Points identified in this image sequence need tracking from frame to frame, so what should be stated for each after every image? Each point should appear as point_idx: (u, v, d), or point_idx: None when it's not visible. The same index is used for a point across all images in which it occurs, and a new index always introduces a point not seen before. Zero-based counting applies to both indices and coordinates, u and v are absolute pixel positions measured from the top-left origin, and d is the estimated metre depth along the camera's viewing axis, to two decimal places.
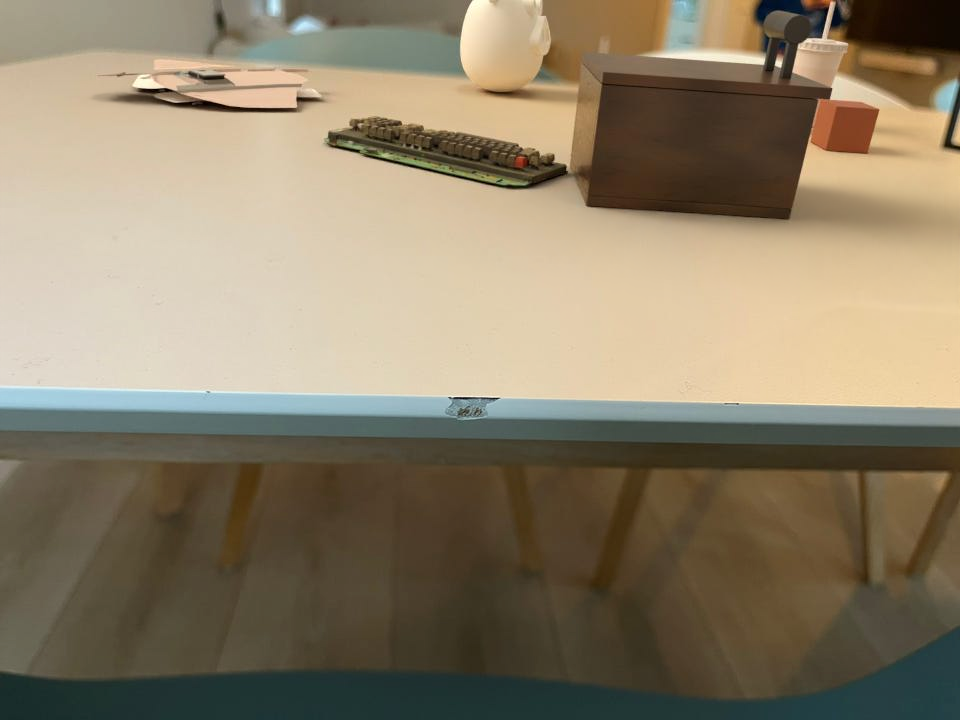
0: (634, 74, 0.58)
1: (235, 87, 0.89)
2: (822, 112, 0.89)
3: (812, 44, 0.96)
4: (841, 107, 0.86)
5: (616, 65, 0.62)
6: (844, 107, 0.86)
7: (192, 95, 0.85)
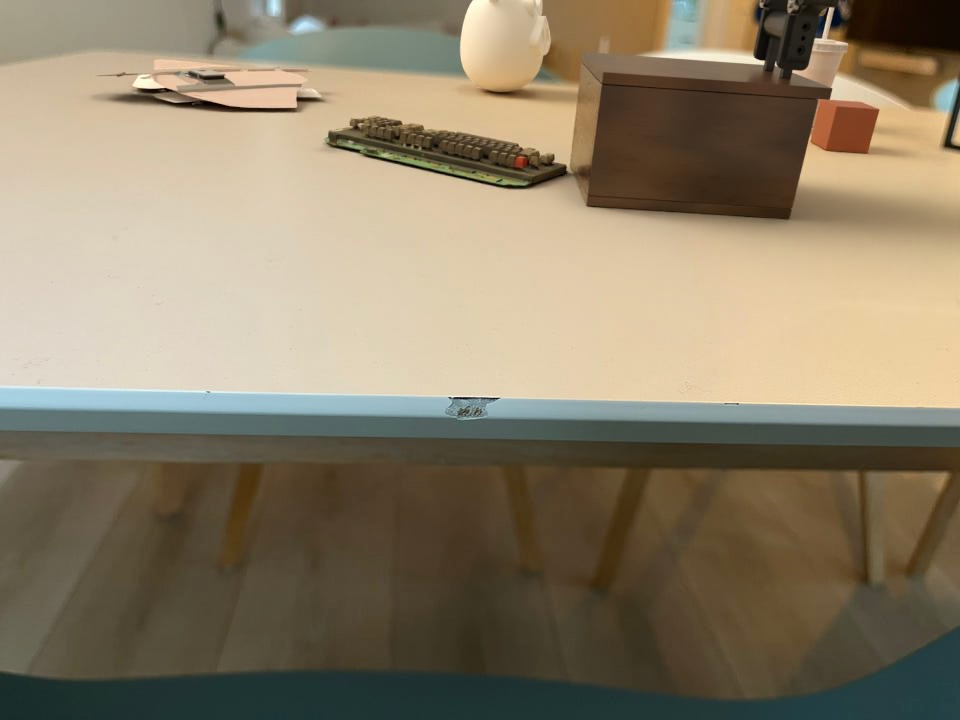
0: (634, 74, 0.58)
1: (235, 87, 0.89)
2: (822, 112, 0.89)
3: None
4: (841, 107, 0.86)
5: (616, 65, 0.62)
6: (844, 107, 0.86)
7: (192, 95, 0.85)
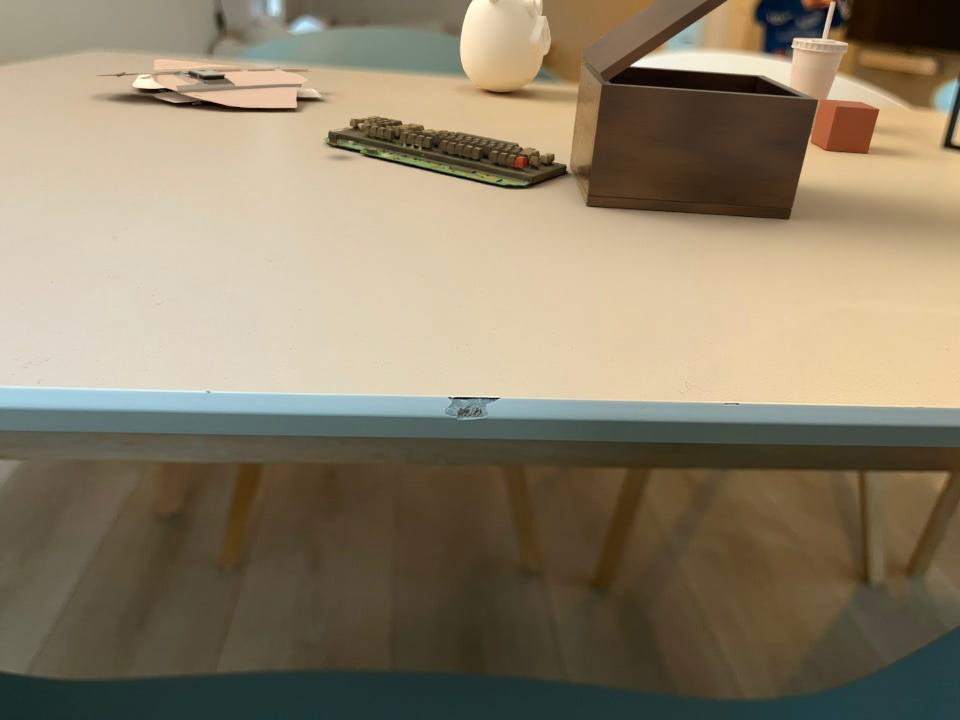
0: (627, 54, 0.57)
1: (235, 87, 0.89)
2: (822, 112, 0.89)
3: (812, 44, 0.96)
4: (841, 107, 0.86)
5: (610, 52, 0.61)
6: (844, 107, 0.86)
7: (192, 95, 0.85)
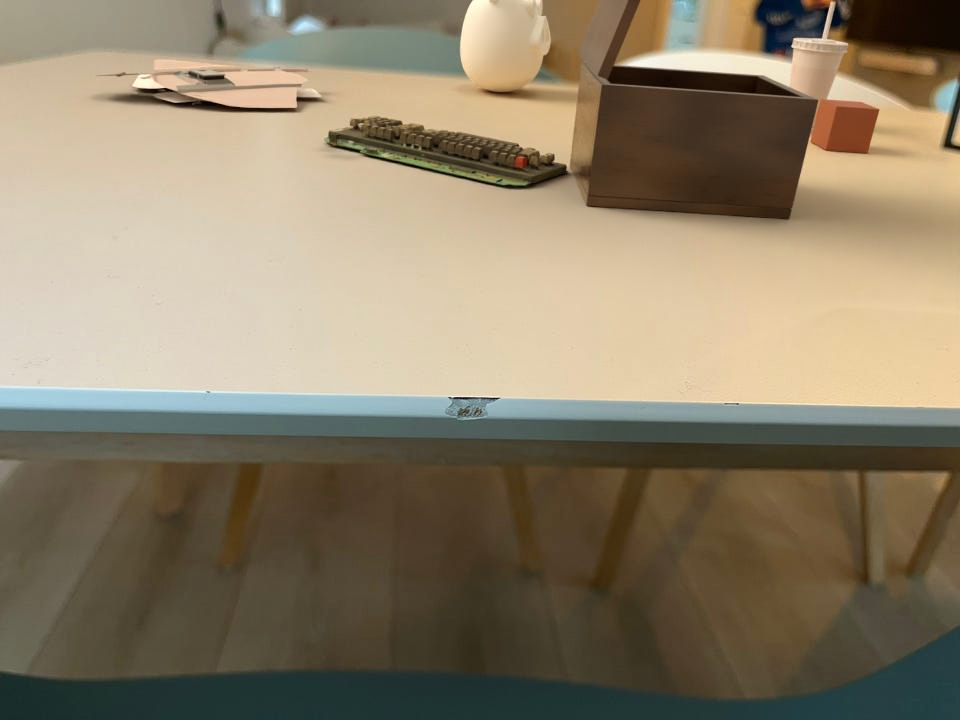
0: (610, 43, 0.57)
1: (235, 87, 0.89)
2: (822, 112, 0.89)
3: (812, 44, 0.96)
4: (841, 107, 0.86)
5: (598, 46, 0.61)
6: (844, 107, 0.86)
7: (192, 95, 0.85)
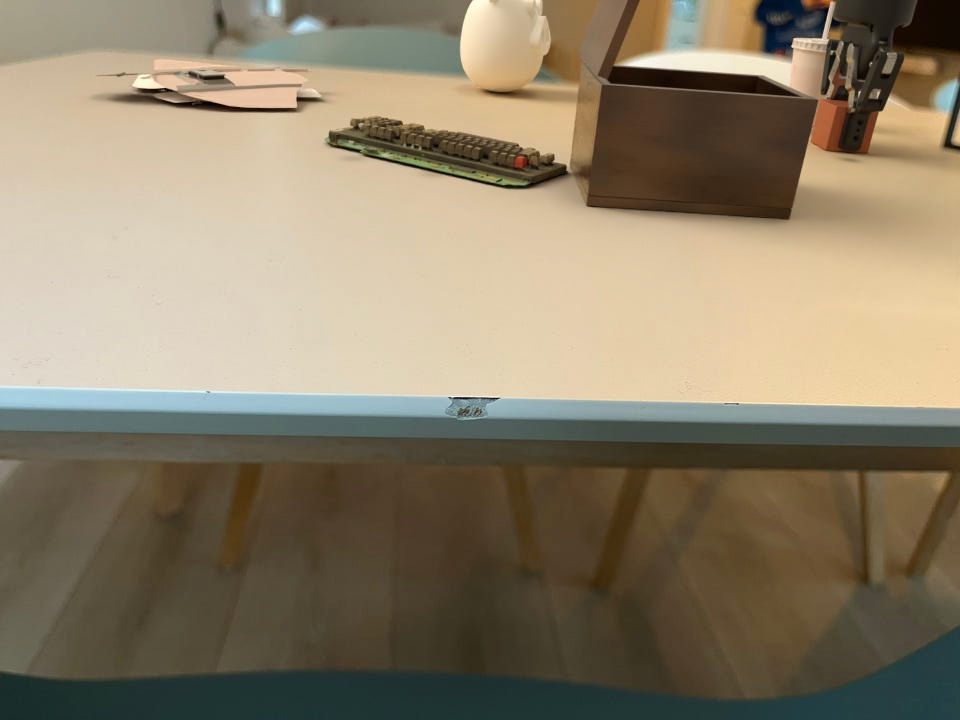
0: (610, 43, 0.57)
1: (235, 87, 0.89)
2: (822, 112, 0.89)
3: (812, 44, 0.96)
4: (841, 107, 0.86)
5: (598, 46, 0.61)
6: (844, 107, 0.86)
7: (192, 95, 0.85)
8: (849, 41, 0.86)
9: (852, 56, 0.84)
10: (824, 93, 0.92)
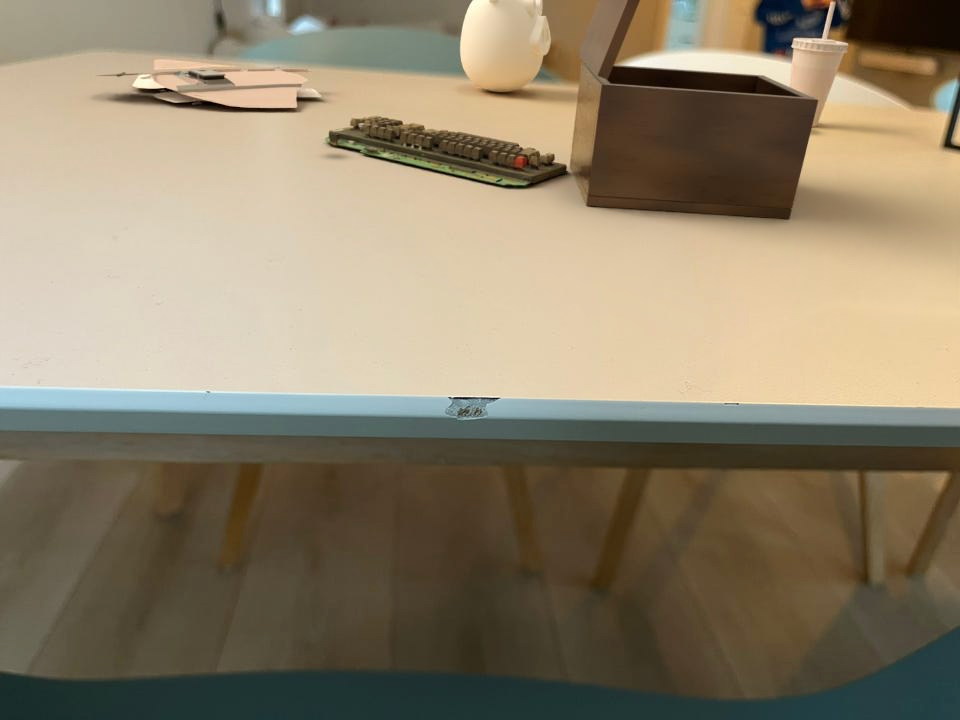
0: (610, 43, 0.57)
1: (235, 87, 0.89)
2: None
3: (812, 44, 0.96)
4: None
5: (598, 46, 0.61)
6: None
7: (192, 95, 0.85)
8: None
9: None
10: None
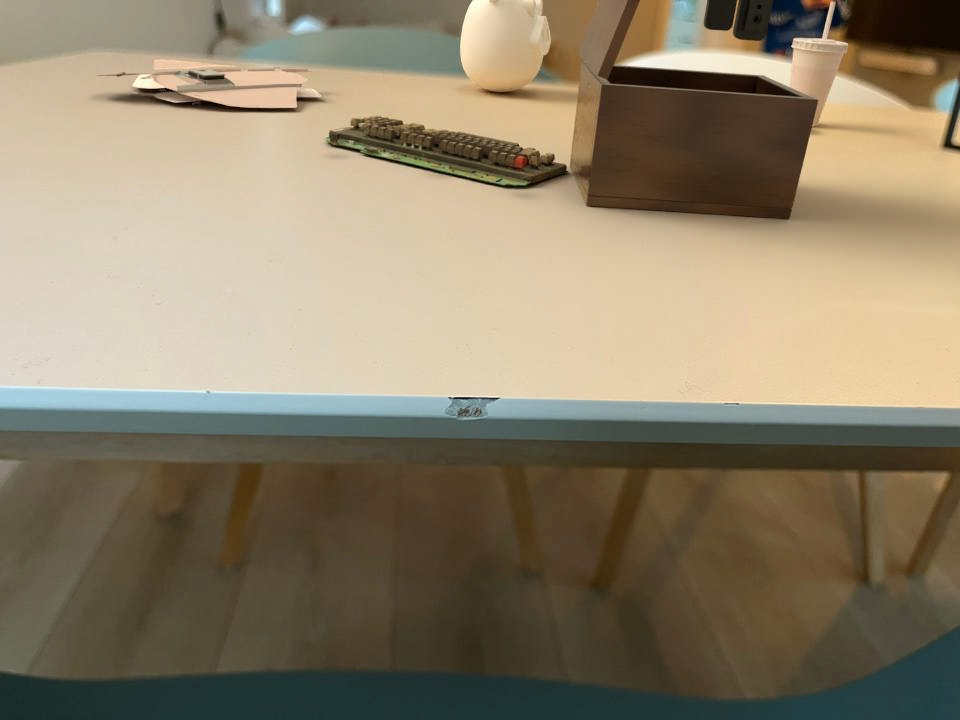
0: (610, 43, 0.57)
1: (235, 87, 0.89)
2: None
3: (812, 44, 0.96)
4: None
5: (598, 46, 0.61)
6: None
7: (192, 95, 0.85)
8: None
9: None
10: None
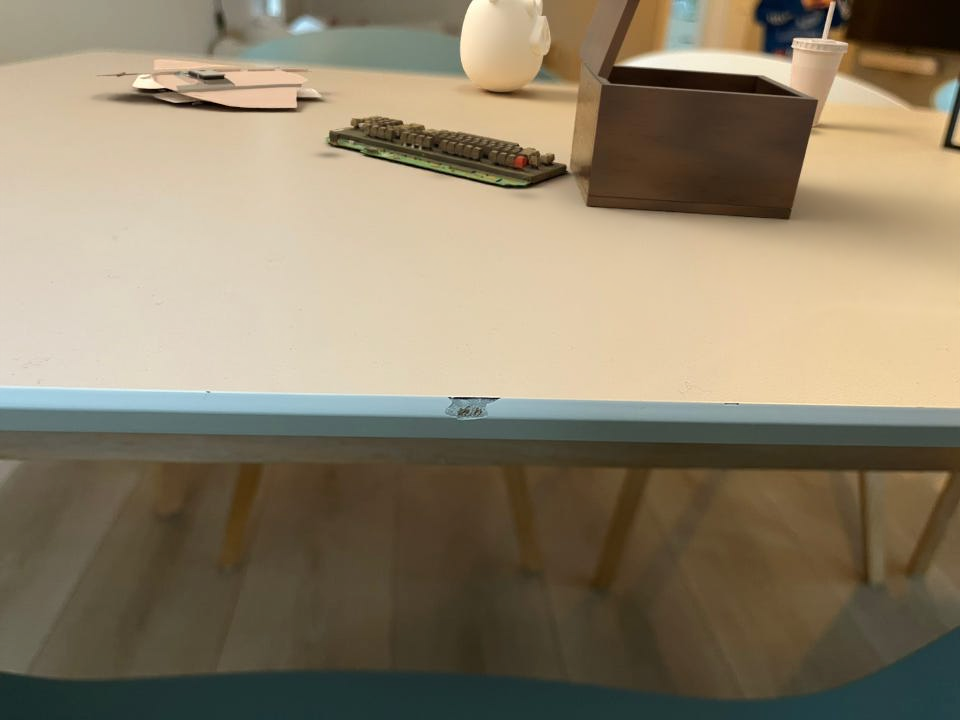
0: (610, 43, 0.57)
1: (235, 87, 0.89)
2: None
3: (812, 44, 0.96)
4: None
5: (598, 46, 0.61)
6: None
7: (192, 95, 0.85)
8: None
9: None
10: None
